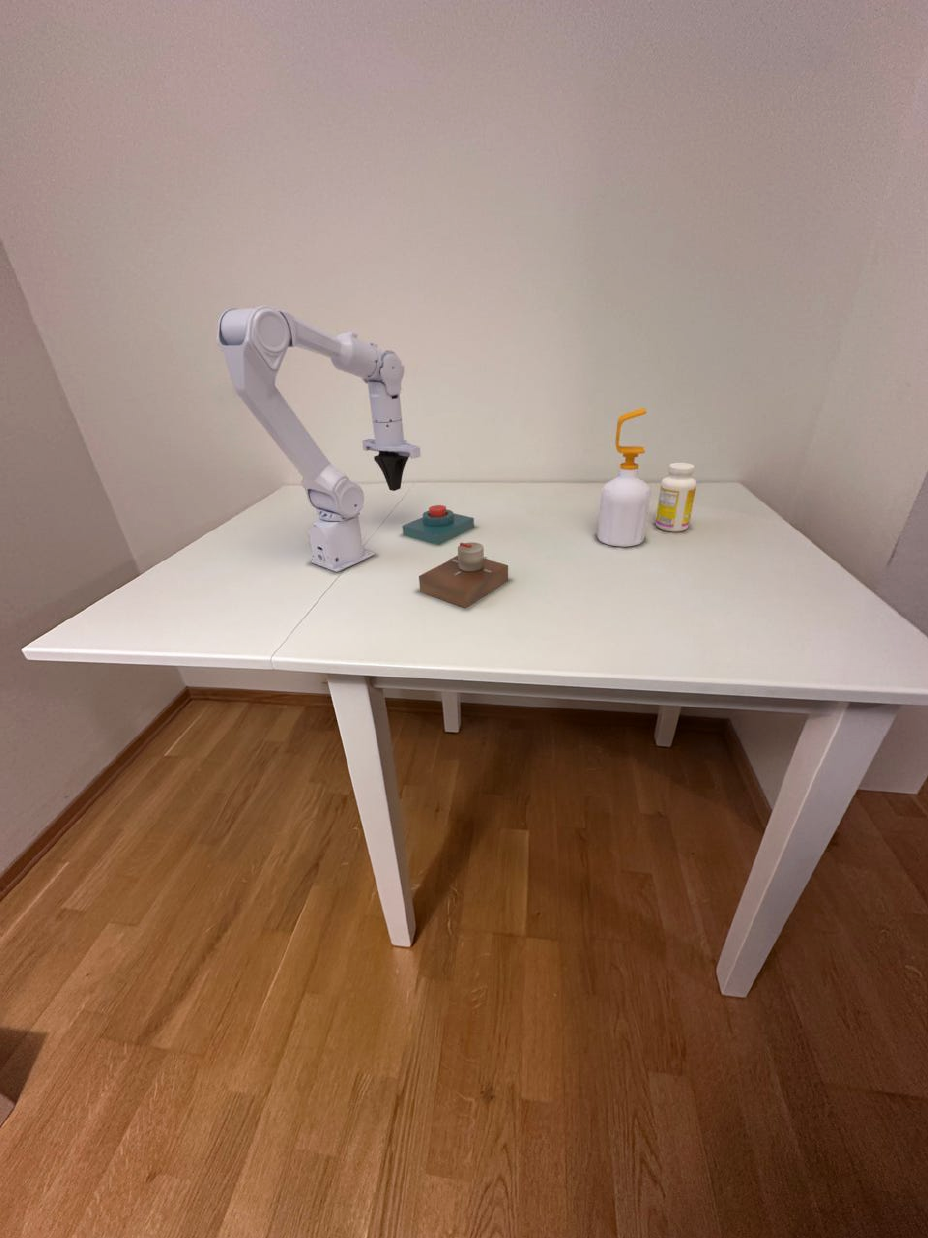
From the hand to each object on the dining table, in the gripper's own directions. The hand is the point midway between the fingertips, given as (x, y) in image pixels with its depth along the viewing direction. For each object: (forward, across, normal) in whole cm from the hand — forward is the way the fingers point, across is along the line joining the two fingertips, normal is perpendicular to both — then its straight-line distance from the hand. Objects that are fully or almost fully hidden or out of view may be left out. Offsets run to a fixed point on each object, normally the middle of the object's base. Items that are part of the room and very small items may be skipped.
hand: (395, 489), depth 106 cm
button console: (+10, -6, -6) cm, 13 cm away
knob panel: (+10, -27, +11) cm, 31 cm away
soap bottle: (+10, -40, -23) cm, 47 cm away
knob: (+7, -27, +9) cm, 29 cm away
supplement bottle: (+10, -46, -35) cm, 59 cm away
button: (+6, -6, -6) cm, 11 cm away
